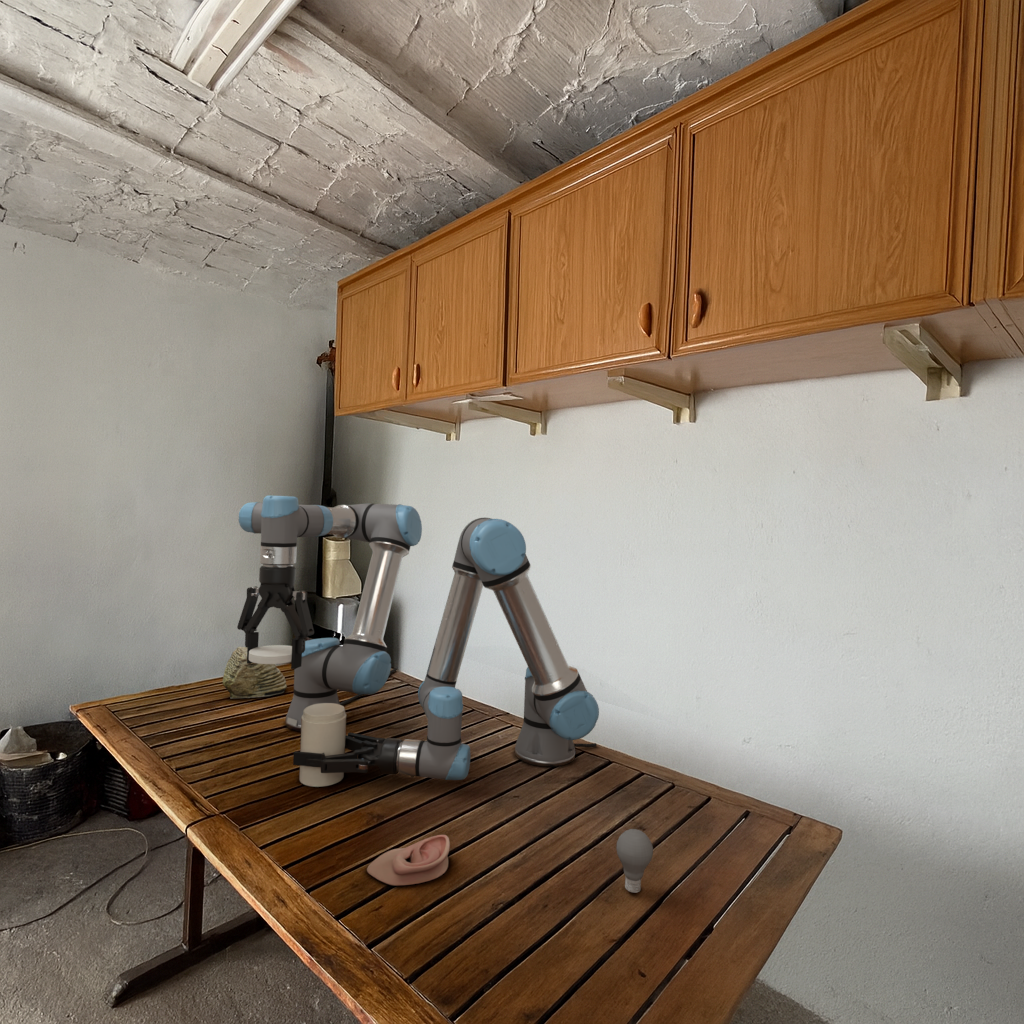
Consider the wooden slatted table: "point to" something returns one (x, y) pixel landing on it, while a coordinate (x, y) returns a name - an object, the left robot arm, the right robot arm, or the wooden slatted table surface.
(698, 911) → the wooden slatted table surface
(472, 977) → the wooden slatted table surface
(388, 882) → the anatomical model
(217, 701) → the wooden slatted table surface
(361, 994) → the wooden slatted table surface
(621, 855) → the light bulb
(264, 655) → the lid
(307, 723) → the jar
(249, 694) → the fossil
